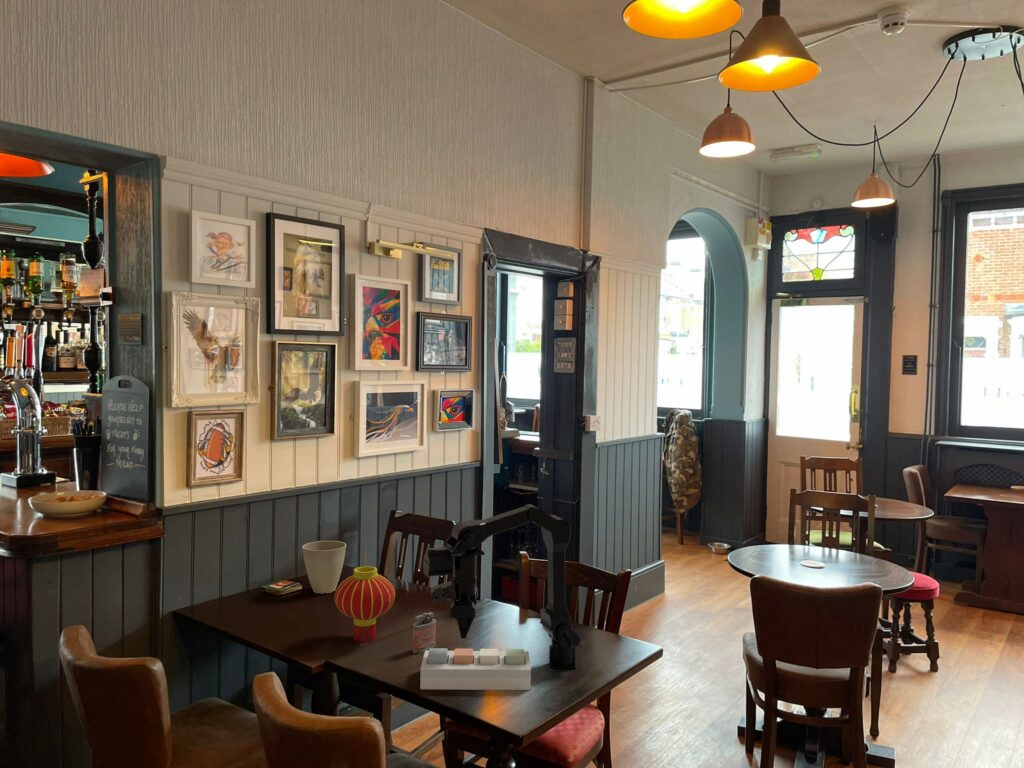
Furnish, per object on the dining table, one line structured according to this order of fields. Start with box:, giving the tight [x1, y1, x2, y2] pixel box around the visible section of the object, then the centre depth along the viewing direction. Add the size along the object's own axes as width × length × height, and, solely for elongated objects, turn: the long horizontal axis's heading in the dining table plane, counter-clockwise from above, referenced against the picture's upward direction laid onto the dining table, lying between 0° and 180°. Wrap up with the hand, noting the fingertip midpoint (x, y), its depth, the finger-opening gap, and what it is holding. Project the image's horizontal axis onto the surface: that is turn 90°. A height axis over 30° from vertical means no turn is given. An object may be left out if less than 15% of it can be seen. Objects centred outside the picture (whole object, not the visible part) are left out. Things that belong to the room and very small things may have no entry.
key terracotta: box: [454, 647, 474, 664], centre depth 191 cm, size 5×5×2 cm
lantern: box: [334, 550, 396, 643], centre depth 218 cm, size 17×17×30 cm
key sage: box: [505, 648, 525, 665], centre depth 191 cm, size 5×5×2 cm
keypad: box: [419, 650, 532, 691], centre depth 191 cm, size 27×12×5 cm, turn 91°
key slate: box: [428, 647, 449, 664], centre depth 191 cm, size 5×5×2 cm
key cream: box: [479, 648, 499, 664], centre depth 191 cm, size 5×5×2 cm
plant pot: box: [301, 540, 347, 595], centre depth 263 cm, size 15×15×16 cm
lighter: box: [411, 612, 437, 654], centre depth 211 cm, size 8×3×10 cm, turn 141°
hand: (463, 634), depth 191 cm, fingers open, 6 cm apart
